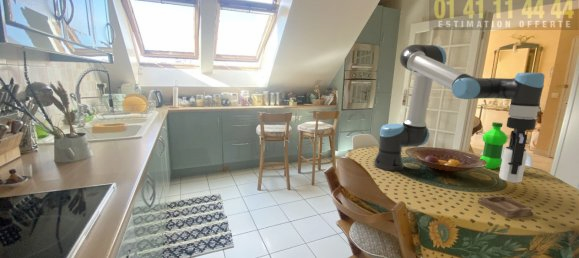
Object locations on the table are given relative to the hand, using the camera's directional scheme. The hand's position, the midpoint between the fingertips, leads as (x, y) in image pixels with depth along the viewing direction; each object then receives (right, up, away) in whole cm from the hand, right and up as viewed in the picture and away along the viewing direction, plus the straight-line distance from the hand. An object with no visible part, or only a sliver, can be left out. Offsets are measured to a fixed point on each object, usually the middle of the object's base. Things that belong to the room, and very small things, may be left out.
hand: (510, 178), depth 95 cm
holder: (0, -12, +3) cm, 12 cm away
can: (0, -1, 0) cm, 1 cm away
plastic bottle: (+29, -3, +47) cm, 56 cm away
